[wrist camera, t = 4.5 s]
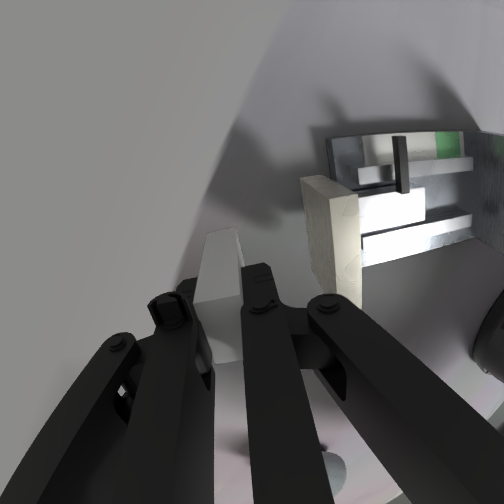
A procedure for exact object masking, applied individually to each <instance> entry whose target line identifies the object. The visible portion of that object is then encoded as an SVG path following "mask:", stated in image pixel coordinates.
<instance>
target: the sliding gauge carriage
mask: <svg viewBox="0 0 504 504" xmlns="http://www.w3.org/2000/svg"><path fill="white" fill-rule="evenodd" d="M391 137H392V146H393V156H394V168H395V183H396V185H393V186H386V187H380V188H373V189H367V190H361V191H355V192H353V191H351V190H349V189H348V188H346V187H344V186H342V185H340V184H338V183H336V182H335V181H333V180H331V179H329V178H327V177H325V176H323V175H321V174H320V175H314V176H307V177H302V178H300V184H301V191H302V197H303V204H304V211H305V219H306V226H307V234H308V242H309V250H310V259H311V268H312V271H313V273H314V275H315V277H316V279H317V280H318V282H319V284H320V286H321V288H322V290H323V291H324V293H325V294H329V293H335V294H340V295H343V296H344V297H346V298H348V299H349V300H350V301H351V302H352V303H354V304H355V305H356V306H357V307H358V308H360V309H361V310H362V261H361V234H360V233H365V232H370V231H375V230H379V229H384V228H389V227H394V226H399V225H403V224H408V223H413V222H418V221H422V220H425V187H422V186H420V185H417V184H415V183H409V165H408V152H407V142H406V136H401V135H398V136H391Z"/></svg>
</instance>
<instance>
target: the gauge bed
mask: <svg viewBox="0 0 504 504" xmlns="http://www.w3.org/2000/svg"><path fill="white" fill-rule="evenodd" d="M398 135H401V136H406V142H407V152H408V165H409V183H415V184H417V185H420V186H422V187H425V220H422V221H418V222H413V223H408V224H403V225H399V226H394V227H389V228H384V229H379V230H375V231H370V232H365V233H360V234H361V261H362V267H365V266H370V265H374V264H378V263H382V262H386V261H390V260H394V259H398V258H402V257H405V256H409V255H413V254H417V253H421V252H425V251H428V250H432V249H436V248H439V247H443V246H447V245H450V244H454V243H457V242H461V241H464V240H468V239H471V238H475V237H476V238H477V239H479V240H481V241H482V242H484V243H485V244H487V245H489V246H490V247H492V248H493V249H495V250H497V251H498V252H500V253H501V254H503V255H504V134H499V133H493V132H486V131H471V130H431V131H404V132H387V133H373V134H362V135H352V136H342V137H333V138H325V140H326V146H327V153H328V160H329V167H330V175H331V180H333V181H335V182H336V183H338V184H340V185H342V186H344V187H346V188H348V189H349V190H351V191H353V192H355V191H361V190H367V189H373V188H380V187H386V186H393V185H396V183H395V168H394V156H393V146H392V137H391V136H398Z"/></svg>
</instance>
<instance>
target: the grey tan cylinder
mask: <svg viewBox="0 0 504 504" xmlns="http://www.w3.org/2000/svg"><path fill="white" fill-rule="evenodd" d="M322 455H323V459H324V463H325V467H326V470H327V474H328V478H329V482H330V486H331V490H332V495H333V497H334V496H335V495H337V494H338V493H339V492H340V490H341V489H342V487H343V485H344V483H345V480H346V466H345V463H344V461H343V460H342V458H341V457H340V456H338V455H337V454H334V453H330V452H325V451H322Z"/></svg>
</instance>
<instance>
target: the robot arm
mask: <svg viewBox="0 0 504 504" xmlns="http://www.w3.org/2000/svg"><path fill="white" fill-rule="evenodd" d="M147 307H148V309H149V311H150V314H151V316H152V318H153V320H154V323H155V325H156V328H155V331H154V334H153V335H151V336H149V337H146V338H143V339H141V340H138V341H136V339H135V337H134V336H133V335H132V334H131V333H128V332H123V333H117V334H115V335H112V336H111V337H110V338H108V339H107V340H106V341H105V342H104V343H103V344H102V345H101V347H100V348H99V350H98V351H97V352H96V353H95V355H94V356H93V357H92V359H91V360H90V361H89V363H88V364H87V366H86V367H85V368H84V369H83V371H82V372H81V373H80V375H79V376H78V377H77V379H76V380H75V382H74V383H73V384H72V386H71V387H70V389H69V390H68V391H67V393H66V394H65V396H64V397H63V398H62V400H61V401H60V403H59V404H58V406H57V407H56V409H55V410H54V411H53V413H52V414H51V416H50V417H49V419H48V420H47V422H46V423H45V425H44V426H43V428H42V429H41V431H40V432H39V434H38V435H37V437H36V438H35V440H34V442H33V443H32V445H31V446H30V448H29V450H28V451H27V452H26V454H25V456H24V457H23V459H22V461H21V462H20V464H19V465H18V467H17V469H16V471H15V472H14V474H13V475H12V478H11V479H10V481H9V482H8V484H7V486H6V488H5V489H4V491H3V493H2V495H1V497H0V504H214V407H215V372H214V369H213V366H212V364H211V362H212V356H213V359H214V361H215V364H222V363H228V362H234V361H240V360H243V365H244V381H245V395H246V410H247V424H248V438H249V451H250V464H251V476H252V488H253V500H254V504H335V503H334V499H333V495H332V490H331V486H330V482H329V478H328V474H327V470H326V467H325V463H324V459H323V455H322V451H321V447H320V443H319V439H318V435H317V431H316V428H315V424H314V420H313V416H312V412H311V408H310V405H309V401H308V397H307V393H306V390H305V386H304V382H303V378H302V375H301V371H300V369H313V370H314V372H315V374H316V375H317V377H318V378H319V380H320V381H321V382H322V384H323V385H324V387H325V388H326V389H327V391H328V392H329V393H330V395H331V396H332V398H333V399H334V400H335V402H336V403H337V404H338V406H339V407H340V408H341V410H342V411H343V413H344V414H345V415H346V417H347V418H348V419H349V421H350V422H351V423H352V425H353V426H354V427H355V429H356V430H357V431H358V433H359V434H360V436H361V437H362V438H363V440H364V441H365V442H366V444H367V445H368V446H369V448H370V449H371V450H372V452H373V453H374V454H375V456H376V457H377V458H378V460H379V461H380V462H381V463H382V465H383V466H384V467H385V469H386V470H387V471H388V473H389V474H390V475H391V477H392V478H393V479H394V481H395V482H396V483H397V484H398V486H399V487H400V488H401V490H402V491H403V492H404V494H405V495H406V496H407V497H408V499H409V500H410V501H411V502H412V504H504V421H503V422H502V423H501V424H500V425H499V426H498V427H497V428H496V429H495V428H494V427H493V426H492V425H491V424H489V422H487V421H486V420H485V419H484V418H483V417H482V416H481V415H480V414H479V413H478V412H477V411H476V410H475V409H473V408H472V407H471V406H470V405H469V404H468V403H467V402H466V401H465V400H464V399H463V398H461V397H460V396H459V395H458V394H457V393H456V392H455V391H454V390H453V389H451V388H450V387H449V386H448V385H447V384H446V383H445V382H444V381H443V380H441V379H440V378H439V377H438V376H437V375H436V374H435V373H434V372H432V371H431V370H430V369H429V368H428V367H427V366H426V365H425V364H423V363H422V362H421V361H420V360H419V359H418V358H417V357H415V356H414V355H413V354H412V353H411V352H410V351H409V350H407V349H406V348H405V347H404V346H403V345H402V344H401V343H399V342H398V341H397V340H396V339H395V338H394V337H392V336H391V335H390V334H389V333H388V332H387V331H385V330H384V329H383V328H382V327H381V326H380V325H378V324H377V323H376V322H375V321H374V320H373V319H371V318H370V317H369V316H368V315H367V314H365V313H364V312H363V311H362V310H361V309H360V308H358V307H357V306H356V305H355V304H354V303H352V302H351V301H350V300H349V299H348V298H346V297H344V296H343V295H340V294H335V293H329V294H322V295H319V296H316V297H315V298H313V299H311V300H310V302H309V303H308V304H307V308H293V307H289V306H286V305H284V304H283V303H282V302H281V301H280V299H279V296H278V293H277V289H276V285H275V282H274V278H273V275H272V271H271V268H270V266H268V265H267V264H265V263H260V264H255V265H250V266H245V264H244V260H243V256H242V251H241V247H240V243H239V238H238V234H237V229H236V227H233V228H228V229H223V230H219V231H214V232H210V233H207V237H206V241H205V246H204V250H203V255H202V260H201V265H200V270H199V275H198V277H196V278H191V279H186V280H183V281H182V282H181V283H180V284H179V285H178V287H177V289H176V291H173V292H167V293H164V294H161V295H159V296H157V297H155V298H154V299H153V300H151V301H150V303H149V304H148V305H147ZM473 359H474V361H475V362H476V364H477V365H478V366H479V367H480V369H481V370H482V371H483V372H484V373H486V374H489V375H493V376H494V377H495V378H497V379H498V380H500V381H501V382H503V383H504V292H503V293H502V294H501V296H500V297H499V299H498V300H497V301H496V303H495V304H494V306H493V307H492V309H491V311H490V312H489V314H488V316H487V317H486V319H485V321H484V323H483V325H482V327H481V329H480V331H479V333H478V336H477V338H476V341H475V345H474V349H473ZM121 385H122V387H123V388H124V390H125V391H126V392H125V393H124V395H123V396H122V397H121V396H120V395H119V393H118V392H117V391H118V390H119V388H120V386H121Z"/></svg>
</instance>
